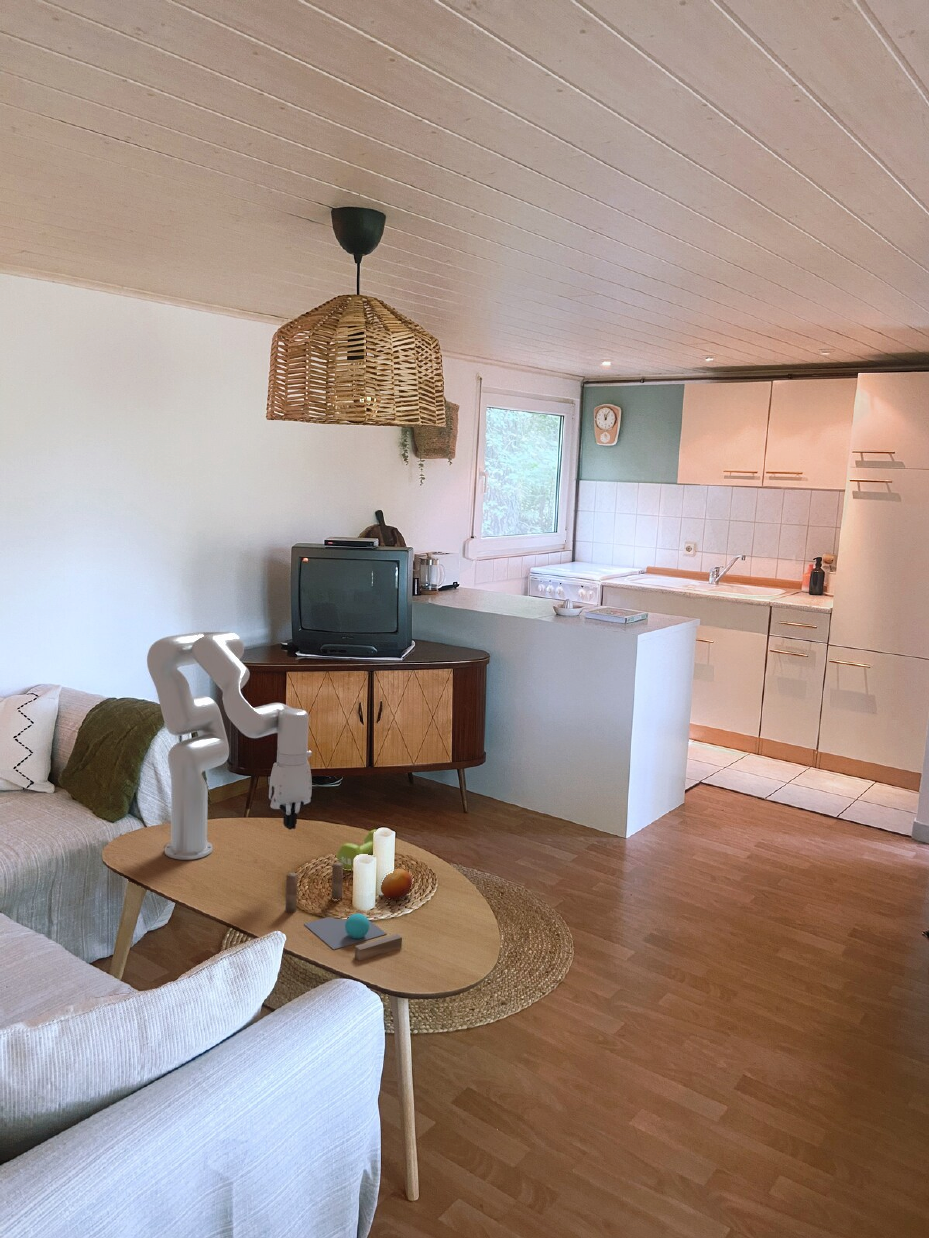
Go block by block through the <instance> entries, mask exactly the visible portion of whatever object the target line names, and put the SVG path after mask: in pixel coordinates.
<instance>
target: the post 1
mask: <svg viewBox="0 0 929 1238" xmlns="http://www.w3.org/2000/svg"><path fill="white" fill-rule="evenodd" d="M298 875H299V874H298V873H295V872H288V873H287V874H286V878H285V879H286V882H285V884H286V885H285V907H284V908H285V909H284V910H285V912H286V913H288V914H294V913H296V912H297V902H298V901H297V900H298V877H299V876H298Z"/></svg>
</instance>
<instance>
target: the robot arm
mask: <svg viewBox="0 0 929 1238" xmlns="http://www.w3.org/2000/svg"><path fill="white" fill-rule="evenodd" d="M244 653H245V645H244V643H243V641H242V638H241V637H240V636H238V635H237V633H234V632H231V631H199V632H198V631H197V632H191V633H190V632H189V633H184V634H183V633H181V634H176V635H170V636H165V637H162V638H160V639H158V640H156V641H155V642H154V643H153V644H151V646H150V647H149V649H148V652H147V655H146V663H147V664H146V665H147V670H148V673H149V676H150V678H151V680H152V682H153V684H154V687H155V689H156V693H157V697H158V702H159V705H160V710H161V714H162V717H163V718H162V719H163V721H164V725H165V728H166V730H167V732H168V733H169V734H171V735H172V736H175V737H177V736H178V737H179V736H185V735H189V734H193V733H196V732H197V735H198V736H194V737H191V738H187V739H184V740H181V741H179V742H177V743H175V744H174V745H172V747H171V748H170V749H169V751H168V753H167V763H168V768H169V773H170V774H169V775H170V787H171V788H170V789H171V796H170V797H171V803H170V804H171V805H170V806H171V807H170V809H171V810H170V813H171V814H170V843H168V844H167V845H166V846H165V847H164V855H166V856H167V857H169V858H171V859H174V860H182V861H185V860H187V861H190V860H197V859H201V858H204V857H206V856H208V855H209V854H211V853H212V852H213V844H212V843H211V842H209V841H208V797H209V796H208V792H209V791H208V784H207V782H206V781H205V779H204V777H203V772H205V771H208V770H210V769H214V768H216V767H219V766H222V765H223V764H224V763H225V762H227V760H228V758H229V755H230V747H229V741H228V737H227V733H226V728H225V725H224V720H223V717H222V713H221V710H220V707H219V706H218V704H217V702H216V701H215V700H214V699H213V698H211V697H210V696H207V695H196V696H193V694H192V693H191V688H190V684H189V681H188V679H187V678H186V676H185V675H184V674H183V673H182V672H181V671H180V670H179V669H178V668H180V667H183V666H189V665H191V666H192V665H195V664H196V665H197V664H199V666H200V667H201V668H202V669H203V670H204V672H205V673H206V675H208V676H209V677H210V678H211V680H213V682H214V683H215V685H216V686H217V687H218V688H219V689H220V690H221V692H222V703H223V708H224V712H225V714H226V716H227V717H228V720H230V722H231V723H232V724H233V725H234V726H235V728H237V729H238V730H239V732H240V733H241V734H243V735H244V736H245V737H248V738H250V739H259V738H263V737H265V736H269V735H273V734H277V749H276V750H277V751H276V753H277V754H276V755H277V756H276V762H274V763H273V766H272V768H271V769H272V770H271V774H270V779H269V780H270V781H269V789H268V799H269V800H270V801H271V802H270V805H269V806H270V808H271V809H274V810H280V811H281V812H283V819H282V820H283V821H282V823H283V825H284V827H285V828H286V829H288V830H290V831H291V830H295V829H296V828H297V827H296V825H297V823H298V814H299V812H300V810H301V808H302V807H303V806H304V805H306V804H309V803H311V800H312V799H311V797H312V792H313V791H312V789H313V786H312V785H313V783H312V781H313V780H312V773H311V772H312V771H311V764H310V762H309V758H310V757H312V756H313V754H312V753H313V752H312V751H311V750H308V749H309V725H310V724H309V721H310V720H309V719H310V717H309V713H308V712H307V711H306V710H305V709H300V708H293V707H291V706H289V705H286V704H285V703H281V702H271V703H268V704H263V705H260V706H255V707H253V706H251V704H250V703H249V702H248V701H247V700H246V699H245V697H244V696H243V693H242V691H241V689H242V688H244V686H246V684H247V683H248V681H249V679H250V674H251V673H250V670H249V668H248V667H247V666H246V665H245V664H244V663H243V662H242V661H241V658H242V657H243V656H244Z"/></svg>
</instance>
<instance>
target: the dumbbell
mask: <svg viewBox="0 0 929 1238" xmlns="http://www.w3.org/2000/svg"><path fill="white" fill-rule="evenodd" d="M377 830H378V829H372V830H370V831H369V832H368V833H367V835H366V836H365V838H364V840H363V843H362V844H361V845H357V844H354V843H352V842H351V843H350V842H347V843H344V844H342V845H341V846H340V848H339V850H338V851H337V853H336V859H337V862H339V863H343V868H344V869H351V872H350V873H353V872H352V867H353V858H354V857H355V856H356V855H359V854H369V856H372V855H373V833H374V832H376V831H377Z"/></svg>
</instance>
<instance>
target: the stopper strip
mask: <svg viewBox="0 0 929 1238" xmlns="http://www.w3.org/2000/svg"><path fill="white" fill-rule="evenodd" d="M402 945H403V936H401V935H399V934H398V933H395V934H392V935H388V936H385V937H382V938H378V939H373V940H371V941H368V942H364V943H361V944H357V945H355V947H354V957H355V958H356V960H358V961H359V962H360V961H363V960H366V959H369V958H372V957H376V956H380V955H382V954H386V953H389V952H393V951H395V950H399V949H402Z"/></svg>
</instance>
